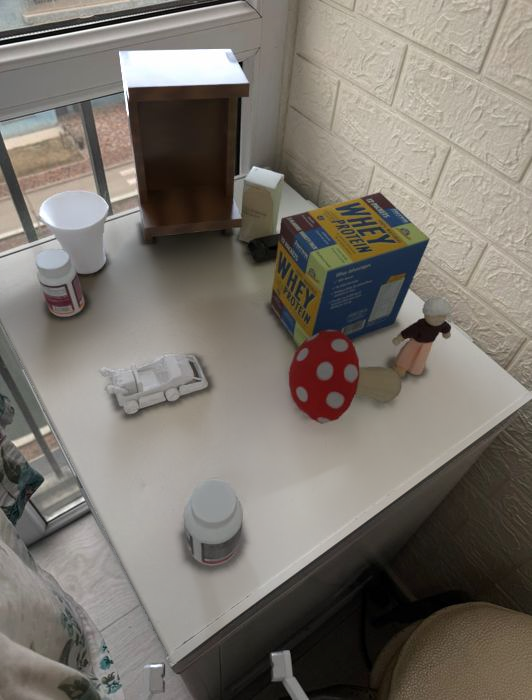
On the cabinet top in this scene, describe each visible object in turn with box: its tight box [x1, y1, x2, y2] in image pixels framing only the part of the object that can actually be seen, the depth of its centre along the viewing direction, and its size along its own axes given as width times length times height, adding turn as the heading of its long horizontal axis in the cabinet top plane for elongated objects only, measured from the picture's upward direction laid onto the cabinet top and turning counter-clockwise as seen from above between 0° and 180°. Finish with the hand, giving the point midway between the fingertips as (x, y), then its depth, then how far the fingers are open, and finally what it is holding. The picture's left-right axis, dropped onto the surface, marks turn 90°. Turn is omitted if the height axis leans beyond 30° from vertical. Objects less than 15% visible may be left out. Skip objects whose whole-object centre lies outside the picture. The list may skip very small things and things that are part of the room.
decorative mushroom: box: [288, 329, 403, 425], centre depth 60 cm, size 11×11×15 cm
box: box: [238, 165, 285, 243], centre depth 78 cm, size 5×4×11 cm
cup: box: [35, 189, 110, 275], centre depth 71 cm, size 9×9×10 cm
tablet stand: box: [246, 232, 280, 264], centre depth 80 cm, size 18×3×3 cm, turn 113°
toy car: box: [98, 353, 209, 415], centre depth 61 cm, size 6×12×4 cm, turn 114°
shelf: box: [118, 48, 251, 244], centre depth 70 cm, size 14×10×26 cm
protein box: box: [269, 192, 431, 348], centre depth 67 cm, size 10×15×16 cm
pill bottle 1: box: [34, 247, 85, 318], centre depth 66 cm, size 5×5×8 cm
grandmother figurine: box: [390, 296, 453, 378], centre depth 63 cm, size 8×4×13 cm, turn 114°
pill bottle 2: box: [183, 478, 244, 567], centre depth 47 cm, size 5×5×10 cm
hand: (217, 657), depth 38 cm, fingers open, 8 cm apart
